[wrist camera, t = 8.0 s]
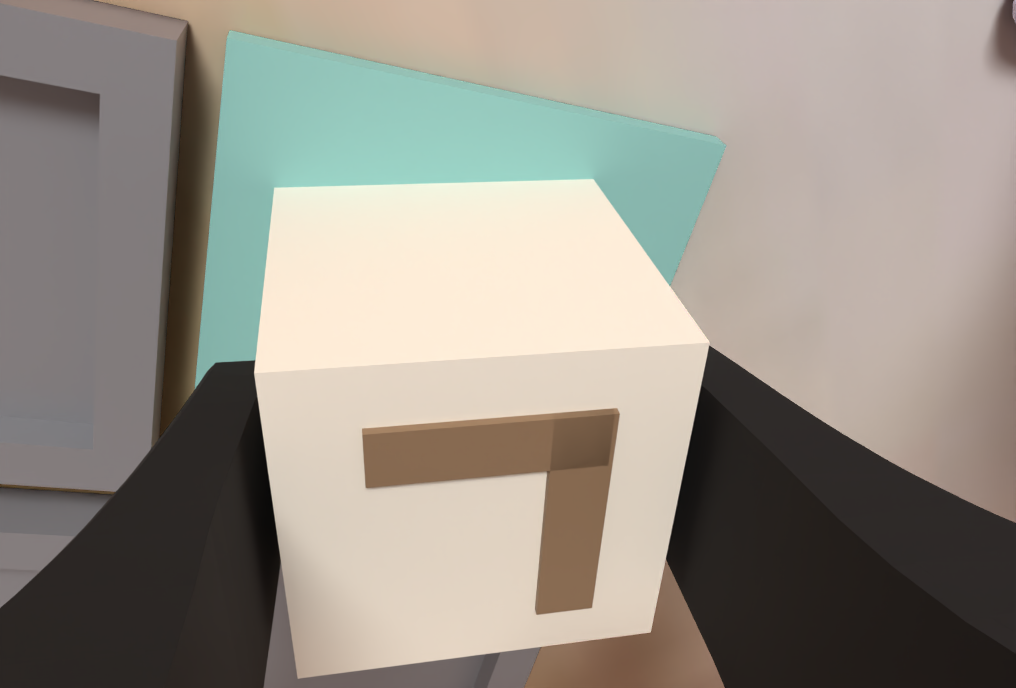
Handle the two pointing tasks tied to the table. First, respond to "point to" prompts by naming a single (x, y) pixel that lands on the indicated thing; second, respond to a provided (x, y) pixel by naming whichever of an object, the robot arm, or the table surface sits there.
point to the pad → (413, 160)
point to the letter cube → (468, 419)
